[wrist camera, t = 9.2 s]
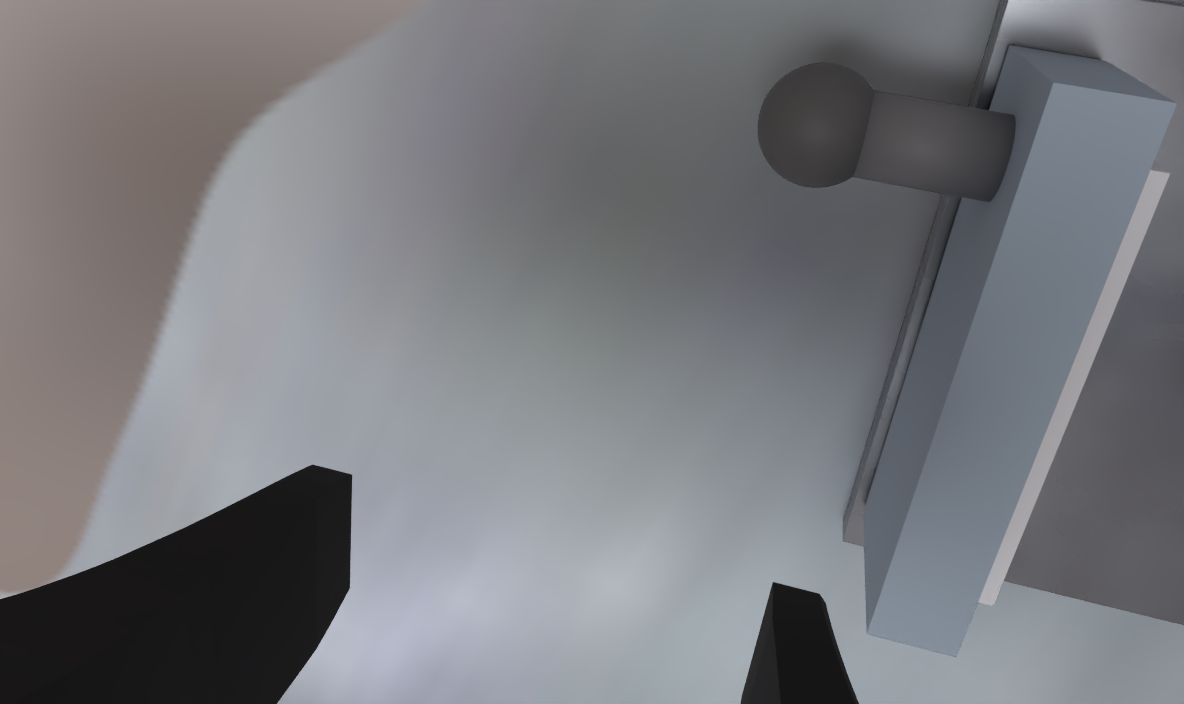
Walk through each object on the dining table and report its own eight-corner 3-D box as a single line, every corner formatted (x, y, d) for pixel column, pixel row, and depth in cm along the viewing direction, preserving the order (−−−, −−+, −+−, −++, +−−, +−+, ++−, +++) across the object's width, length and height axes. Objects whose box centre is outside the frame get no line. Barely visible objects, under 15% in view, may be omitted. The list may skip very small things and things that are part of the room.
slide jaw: (1130, 65, 16) (1209, 108, 13) (956, 534, 21) (978, 663, 17) (786, 8, 17) (770, 35, 14) (689, 470, 22) (659, 580, 18)
